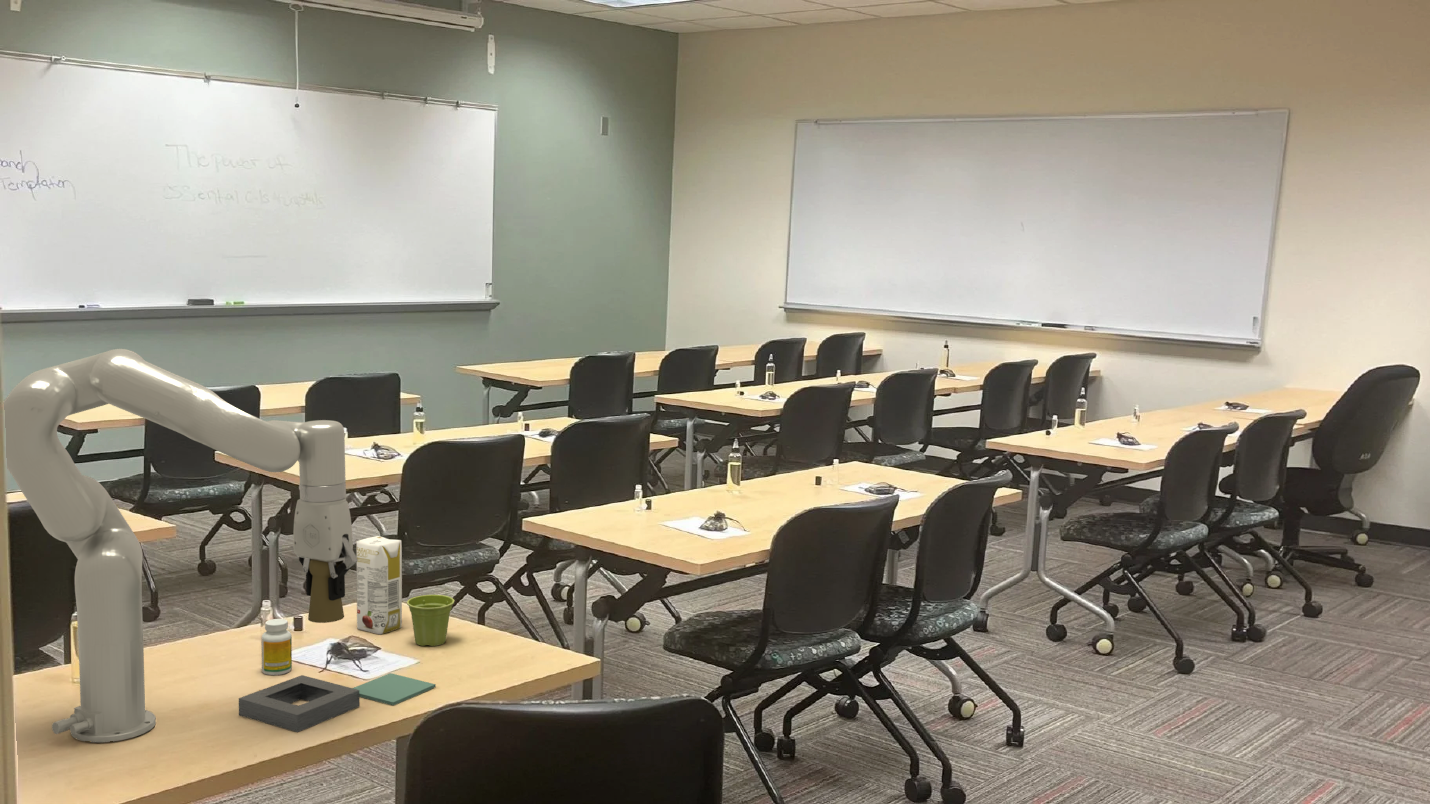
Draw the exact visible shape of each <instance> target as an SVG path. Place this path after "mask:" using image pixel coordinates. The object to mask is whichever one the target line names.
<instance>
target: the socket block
mask: <svg viewBox="0 0 1430 804" xmlns="http://www.w3.org/2000/svg"><path fill="white" fill-rule="evenodd" d="M353 688H354V687H350V686H344V685H342V684H338V683H334V682H331V681H326V680H323V679H318V678H314V677H311V676H306V675H303V674H301V675H299V676H296V677H293V678H290V679H287V680H285V681H282V682H280V683H277V684H274V685H273V684H272V685H270V686H268V687H266V688H263V689H261V690H257V691H255V692H251V693H250V694H247V695H244V696H242V697H239V698H238V716H240V717H243V718H245V719H246V718H248V719H249V720H254V721H257V722H260V723H264V724H268V725H271V726H275V727H278V728H281V729H284V730H288V731H291V732H295V733H300V732H302V731H305V730H307V729H310V728H312V727H314V726H316V725H319V724H322V723H323V722H326V721H328V720H331V719H334V718H335V717H337V716H341V715H343V714H346V713H347V712H350V711H353V710H354V709H357V708H360V707H361V706H360V698H361V697H360V694H359V690H357V689H353ZM301 700H303V701H306V702H305V703H302V704H300V705H297V704H295V703H296V702H299V701H301ZM293 703H294V704H293Z"/></svg>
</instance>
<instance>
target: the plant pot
mask: <svg viewBox="0 0 1430 804" xmlns="http://www.w3.org/2000/svg"><path fill="white" fill-rule="evenodd" d="M406 604H407V607H408V608H409V612H410V615H411V620H412V621H411V622H412V627H413V628H412V629H413V637H414V643H415V644H416V645H419V647H420V646H421V647H425V646H430V647H437V646H441V645H443V644H445V642H446V641H447V635H448V629H449V628H448V627H449V621H450V615H451V611H452V608H453V605H454V604H455V599H454V598H453V597H452V596H449V595H443V594H424V595H418V596H414V597H410V598H408V600H407V601H406Z"/></svg>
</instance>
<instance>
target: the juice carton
mask: <svg viewBox="0 0 1430 804" xmlns="http://www.w3.org/2000/svg"><path fill="white" fill-rule="evenodd" d="M402 551H403V547H402V540H401V539H392V538H391V539H389V538H387V537H383V536H380V535H377V536H370V537H366V538H363V539H362V538H361V539H359V540H356V557H357V559H358V561H357V562H356V627H357V630H361V631H364V632H369V633H372V634H376V635H383V634H386V633H391V632H392V631H395V629H396V630H399V629H401V628H402V623H403V622H402V621H403V618H402V617H403V615H402V614H403V608H402V606H403V589H402V588H403V587H402V585H403V580H402V579H403V573H402V572H403V571H402V570H403V569H402V567H403V565H402V564H403V557H402V555H403V552H402Z"/></svg>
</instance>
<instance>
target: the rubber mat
mask: <svg viewBox="0 0 1430 804" xmlns="http://www.w3.org/2000/svg"><path fill="white" fill-rule="evenodd" d="M434 687H435V688H436V684H435V683H432V682H427V681H425V680H420V679H416V678H412V677H408V676H404V675H399V674H397V673H392V672H390V673H386V674H384V675H383V676H379V677H378V678H377V677H376V678H375V679H372V680H369V681H367V682H365V683H361V684H359V685H356V686H354V687H352V688H353V689H357V690H359V694H360V698H363V699H366V700H369V701H374V702H378V703H381V704H386V705H389V706H395V705H398V704H400V703H403V702H406V701H407V700H409V699H412V698H414V697H417V696H420V695H421V694H423V693H426V692H428V691H430V690H433V689H435V688H434ZM432 688H433V689H432Z"/></svg>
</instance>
